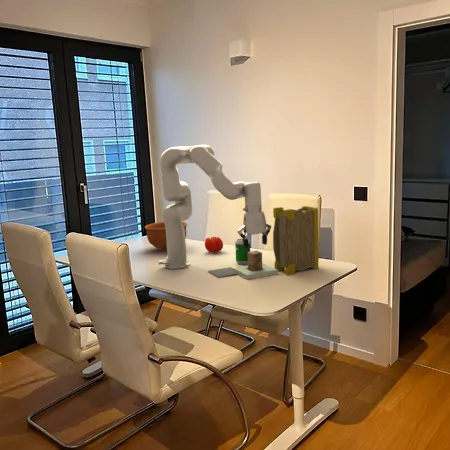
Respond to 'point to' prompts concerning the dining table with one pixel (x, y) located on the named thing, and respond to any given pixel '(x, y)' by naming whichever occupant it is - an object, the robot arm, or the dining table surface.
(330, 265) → the dining table surface
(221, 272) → the rubber mat
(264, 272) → the pocket board
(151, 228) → the bowl
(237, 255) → the soda can
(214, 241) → the tomato
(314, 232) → the decorative book
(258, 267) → the walnut block
